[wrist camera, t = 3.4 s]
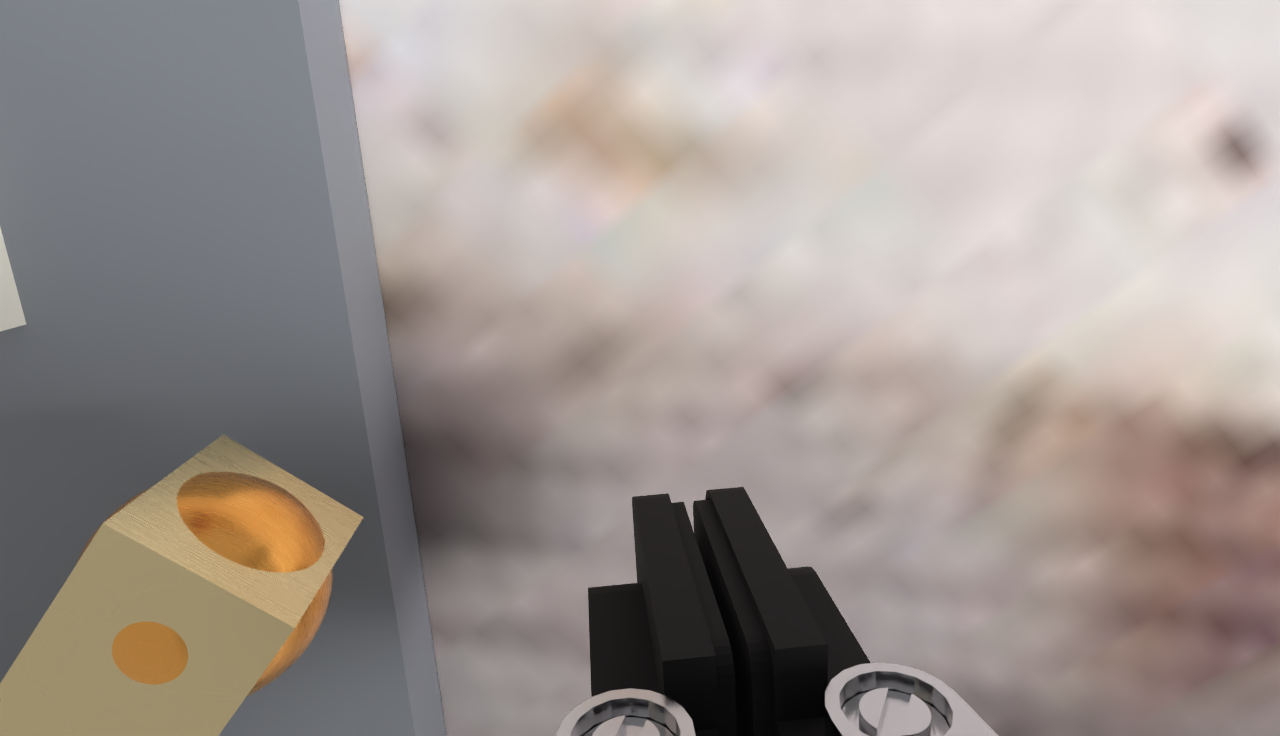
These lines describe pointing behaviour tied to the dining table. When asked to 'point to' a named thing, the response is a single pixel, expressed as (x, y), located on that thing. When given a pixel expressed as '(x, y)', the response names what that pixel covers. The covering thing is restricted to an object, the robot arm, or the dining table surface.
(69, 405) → the stand
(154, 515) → the dial lever
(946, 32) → the dining table surface
